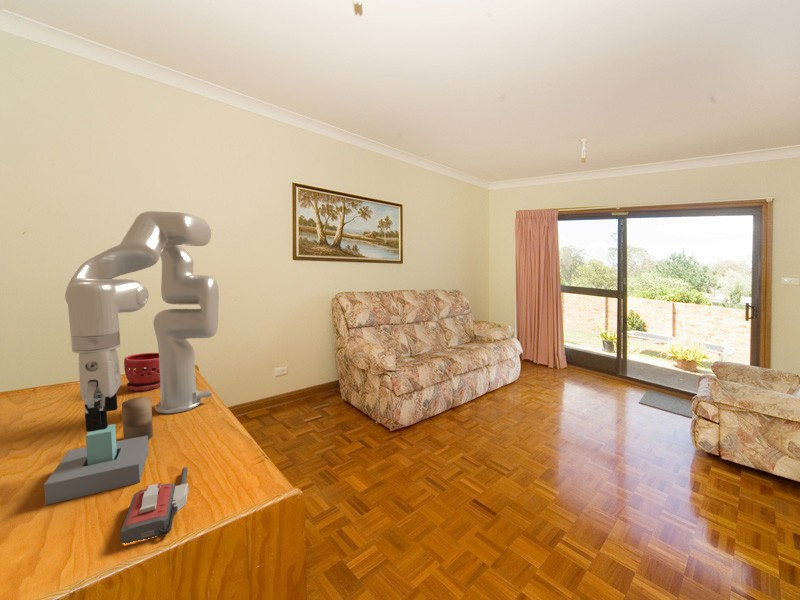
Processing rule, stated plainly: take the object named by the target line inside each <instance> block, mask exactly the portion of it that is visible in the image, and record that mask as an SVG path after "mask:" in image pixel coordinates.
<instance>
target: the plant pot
mask: <svg viewBox="0 0 800 600" xmlns="http://www.w3.org/2000/svg"><path fill="white" fill-rule="evenodd" d="M123 360H124V362H123V365H124V374H125V377H126V379H127V381H128V382H127V383H126V384H125V385H126V388H127V389H129V391H130V390H131V391H132V390H134V391H135V392H136V391H137V392H140V391H142V390H143V391H149V389H150V390H153V388H154V389H157V388H160V369H159V352H145V353H144V352H143V353H136V354H131V355H127V356H125V357H124V359H123Z"/></svg>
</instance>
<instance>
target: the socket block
mask: <svg viewBox="0 0 800 600" xmlns="http://www.w3.org/2000/svg"><path fill="white" fill-rule="evenodd" d="M116 447H117V459H116V460H112V461H107V462H102V463H97V464H93V465H88V463H87V447H86V446H83V447H79V448H74V449H69V450H68V451H67V452H66V454H65V455H64V457H62V459H61V461H60V462H59V464H58V465H57V466H56V468H55V469H54V470H53V472H52V473H51V474H50V476H49V477H48V479H47V480H46V481H45V483H44V484H43V489H44V490H43V491H44V501H45V502H44V503H45V506H47V505H53V504H57V503H61V502H64V501H69V500H73V499H77V498H80V497H81V498H82V497H85V496H91V495H93V494H97V493H102V492H106V491H110V490H114V489H117V488H123V487H127V486H131V485H134V484H138V483H140V482H141V479H142V476H143V472H144V468H145V465H146V461H147V458H148V455H149V440H148V435H147V436H142V437H137V438H131V439H126V440H124V439H121V440H116Z"/></svg>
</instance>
